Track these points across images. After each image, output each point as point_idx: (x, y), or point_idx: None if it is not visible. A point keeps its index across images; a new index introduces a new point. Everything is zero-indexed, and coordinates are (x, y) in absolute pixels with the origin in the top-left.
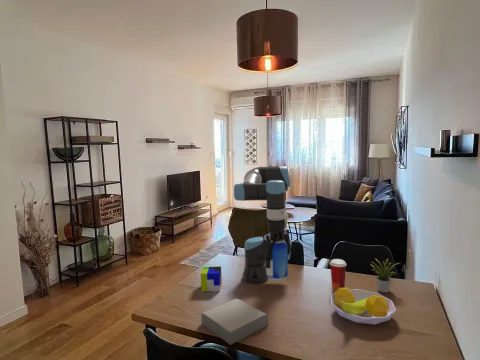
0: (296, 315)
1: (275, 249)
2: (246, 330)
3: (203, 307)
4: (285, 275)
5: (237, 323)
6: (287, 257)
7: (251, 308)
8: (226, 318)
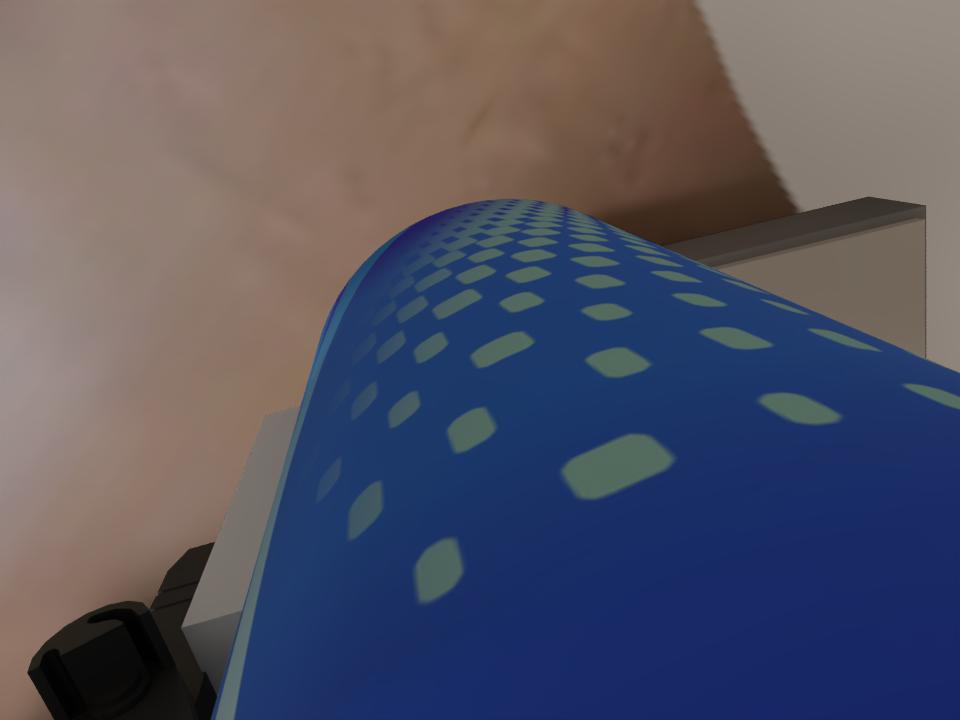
0: (213, 291)
1: None
2: (745, 238)
3: None
4: (456, 211)
5: (818, 293)
6: (162, 609)
7: None
8: None
